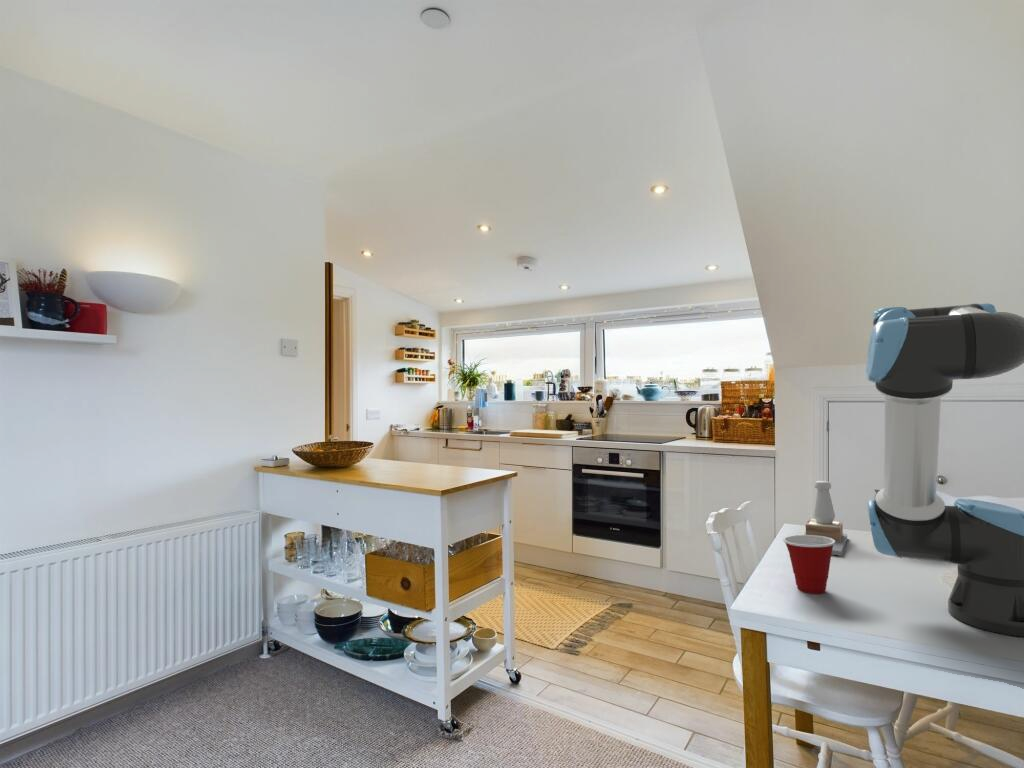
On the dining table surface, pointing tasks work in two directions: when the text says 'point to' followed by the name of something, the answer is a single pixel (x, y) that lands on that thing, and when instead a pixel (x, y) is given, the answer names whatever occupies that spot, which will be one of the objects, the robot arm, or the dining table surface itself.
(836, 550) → the build plate
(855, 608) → the dining table surface
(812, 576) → the plastic cup
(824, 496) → the salt shaker
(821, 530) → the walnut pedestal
